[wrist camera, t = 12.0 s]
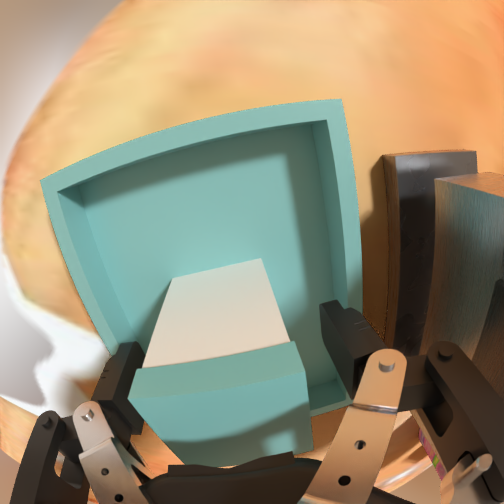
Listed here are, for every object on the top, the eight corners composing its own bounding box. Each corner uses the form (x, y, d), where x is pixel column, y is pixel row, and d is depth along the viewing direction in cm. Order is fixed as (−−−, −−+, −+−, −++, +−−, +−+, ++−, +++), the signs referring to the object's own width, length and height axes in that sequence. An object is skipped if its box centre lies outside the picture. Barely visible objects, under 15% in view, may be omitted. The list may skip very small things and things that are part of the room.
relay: (197, 348, 15) (189, 468, 7) (170, 276, 13) (127, 398, 6) (278, 331, 15) (313, 450, 8) (262, 255, 13) (305, 371, 6)
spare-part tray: (174, 411, 17) (171, 438, 15) (68, 173, 11) (40, 180, 9) (344, 377, 18) (356, 402, 15) (319, 107, 11) (341, 98, 9)
